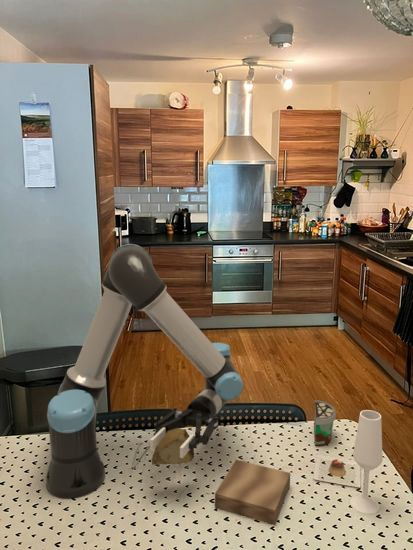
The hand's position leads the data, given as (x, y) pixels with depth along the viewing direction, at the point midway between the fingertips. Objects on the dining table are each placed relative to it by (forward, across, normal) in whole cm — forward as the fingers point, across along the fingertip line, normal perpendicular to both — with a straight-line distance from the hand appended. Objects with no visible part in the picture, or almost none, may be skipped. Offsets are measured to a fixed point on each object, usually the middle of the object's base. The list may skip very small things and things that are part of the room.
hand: (166, 448), depth 111 cm
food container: (-45, -31, -14) cm, 56 cm away
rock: (-5, +1, -6) cm, 8 cm away
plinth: (-11, -19, -15) cm, 26 cm away
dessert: (-30, -37, -15) cm, 50 cm away
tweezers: (-13, +17, -16) cm, 27 cm away
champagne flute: (-19, -45, -14) cm, 51 cm away
